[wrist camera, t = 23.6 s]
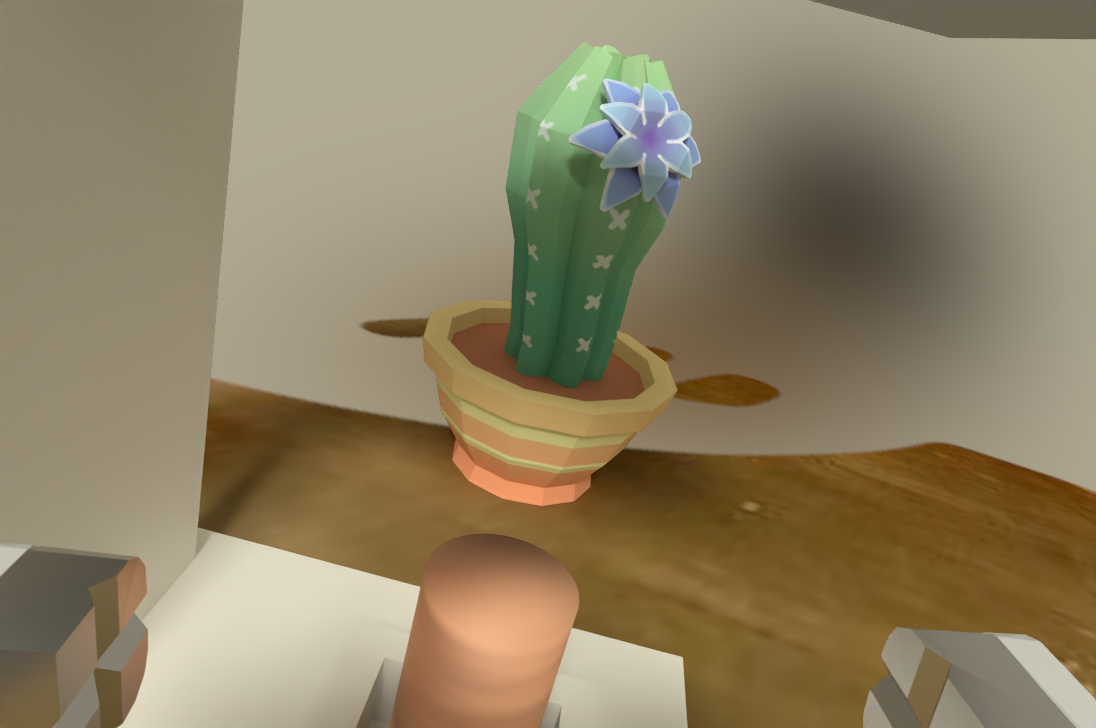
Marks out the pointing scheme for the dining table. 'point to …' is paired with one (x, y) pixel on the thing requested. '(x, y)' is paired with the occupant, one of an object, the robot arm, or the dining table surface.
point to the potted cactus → (567, 285)
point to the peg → (485, 636)
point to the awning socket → (185, 371)
